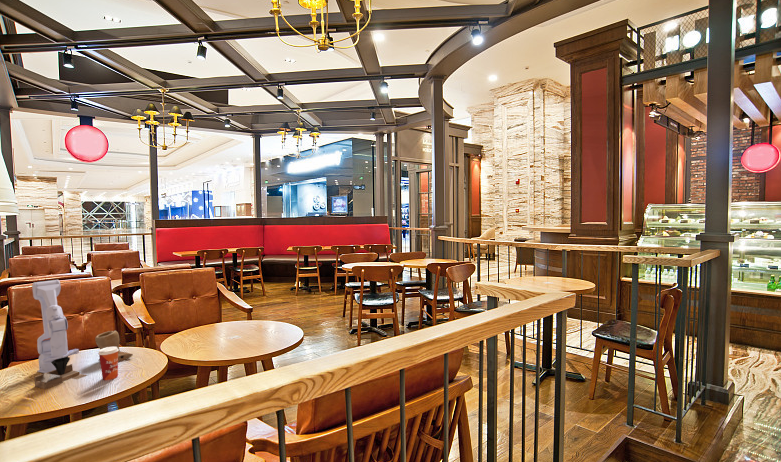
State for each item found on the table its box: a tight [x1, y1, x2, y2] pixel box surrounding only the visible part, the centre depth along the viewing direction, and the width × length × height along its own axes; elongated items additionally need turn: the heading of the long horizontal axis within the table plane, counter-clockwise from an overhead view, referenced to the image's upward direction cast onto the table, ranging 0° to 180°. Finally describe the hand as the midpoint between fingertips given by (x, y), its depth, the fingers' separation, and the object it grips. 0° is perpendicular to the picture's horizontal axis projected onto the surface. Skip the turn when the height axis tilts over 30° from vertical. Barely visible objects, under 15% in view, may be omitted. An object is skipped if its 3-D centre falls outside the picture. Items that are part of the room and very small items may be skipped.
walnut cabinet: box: [33, 363, 88, 390], centre depth 176 cm, size 10×15×5 cm
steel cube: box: [41, 373, 60, 382], centre depth 172 cm, size 4×4×4 cm
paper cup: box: [97, 347, 120, 381], centre depth 178 cm, size 8×8×14 cm
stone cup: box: [94, 330, 134, 362], centre depth 200 cm, size 15×12×15 cm
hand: (61, 374), depth 177 cm, fingers closed
